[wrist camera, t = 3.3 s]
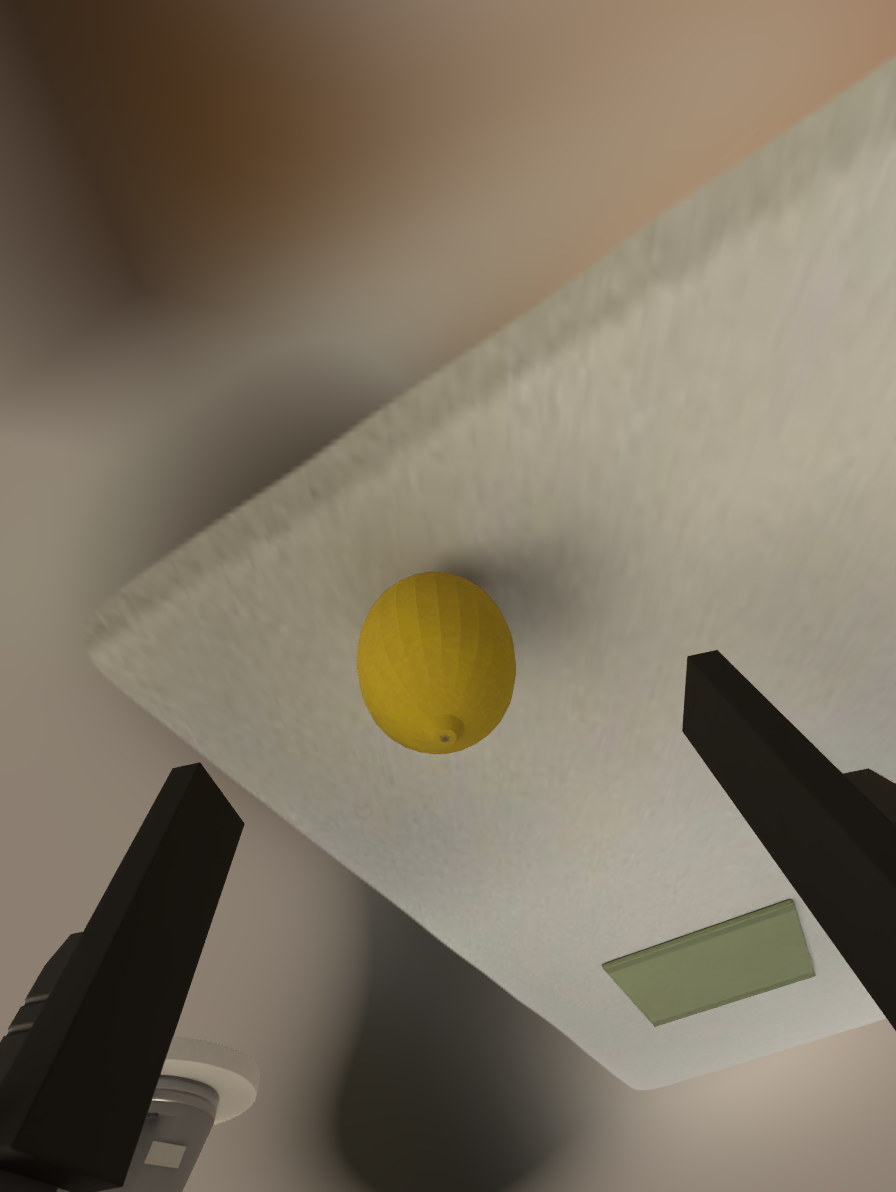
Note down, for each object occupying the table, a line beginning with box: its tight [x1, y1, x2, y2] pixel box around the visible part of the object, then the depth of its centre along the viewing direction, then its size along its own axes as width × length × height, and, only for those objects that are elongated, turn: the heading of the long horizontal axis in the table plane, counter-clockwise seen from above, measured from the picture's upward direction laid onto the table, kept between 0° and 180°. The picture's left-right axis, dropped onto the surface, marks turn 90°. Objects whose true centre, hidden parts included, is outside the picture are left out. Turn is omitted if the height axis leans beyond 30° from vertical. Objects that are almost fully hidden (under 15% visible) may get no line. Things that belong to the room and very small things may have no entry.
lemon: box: [357, 572, 516, 754], centre depth 16 cm, size 6×6×8 cm
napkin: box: [602, 899, 816, 1027], centre depth 40 cm, size 16×16×1 cm
